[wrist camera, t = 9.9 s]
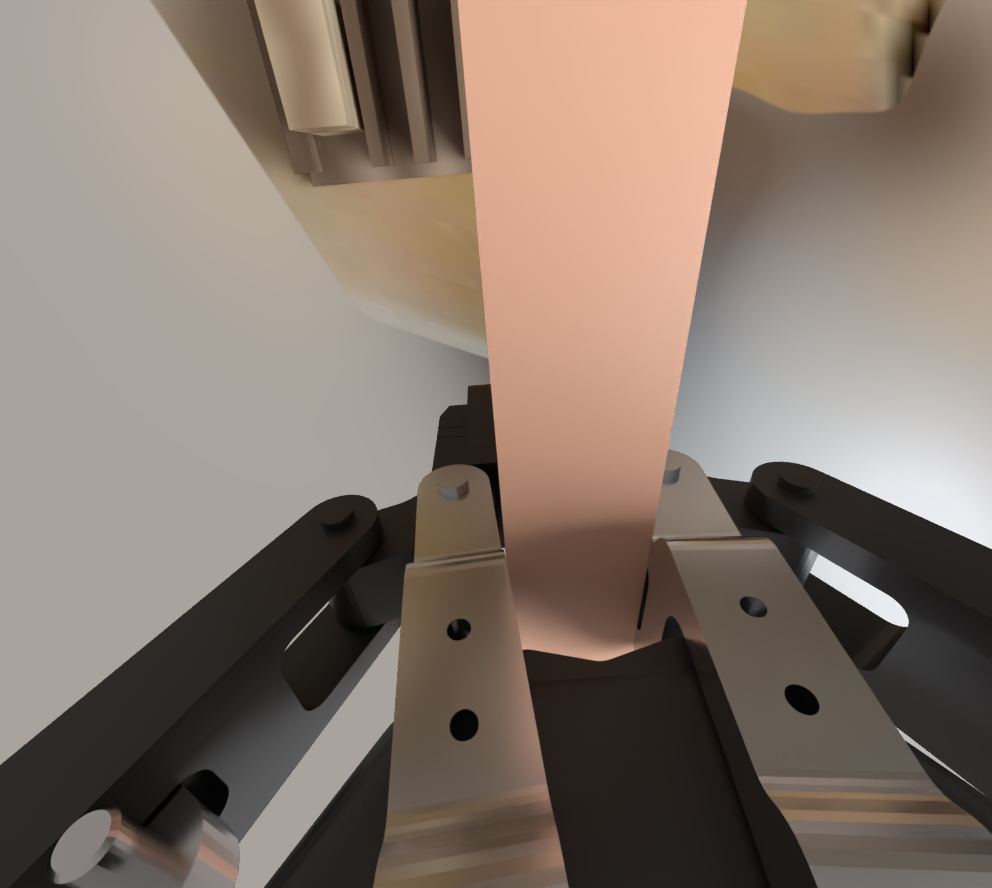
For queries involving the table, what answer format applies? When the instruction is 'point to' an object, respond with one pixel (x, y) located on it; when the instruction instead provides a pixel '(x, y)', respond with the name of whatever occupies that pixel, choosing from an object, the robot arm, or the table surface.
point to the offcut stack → (312, 65)
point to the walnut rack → (391, 96)
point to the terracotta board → (590, 280)
